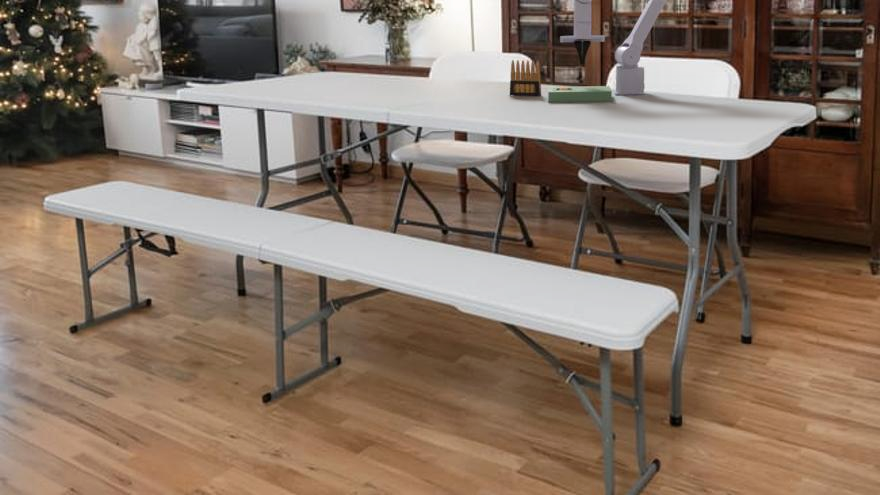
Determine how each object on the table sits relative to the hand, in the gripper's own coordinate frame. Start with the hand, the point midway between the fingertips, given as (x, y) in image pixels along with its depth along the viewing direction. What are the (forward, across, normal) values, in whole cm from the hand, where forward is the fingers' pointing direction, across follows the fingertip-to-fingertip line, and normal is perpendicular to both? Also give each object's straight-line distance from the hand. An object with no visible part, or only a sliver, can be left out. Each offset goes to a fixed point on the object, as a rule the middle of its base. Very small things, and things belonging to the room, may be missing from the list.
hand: (581, 64), depth 332 cm
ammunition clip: (+11, +19, -2) cm, 22 cm away
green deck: (+10, +1, +10) cm, 14 cm away
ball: (+8, +6, +9) cm, 14 cm away
